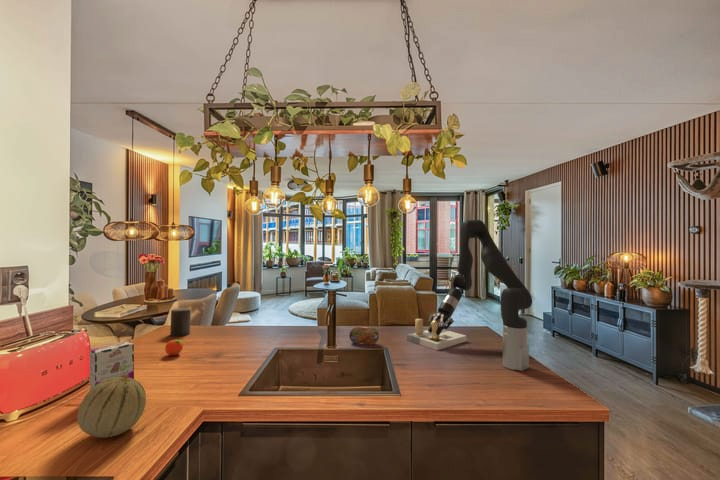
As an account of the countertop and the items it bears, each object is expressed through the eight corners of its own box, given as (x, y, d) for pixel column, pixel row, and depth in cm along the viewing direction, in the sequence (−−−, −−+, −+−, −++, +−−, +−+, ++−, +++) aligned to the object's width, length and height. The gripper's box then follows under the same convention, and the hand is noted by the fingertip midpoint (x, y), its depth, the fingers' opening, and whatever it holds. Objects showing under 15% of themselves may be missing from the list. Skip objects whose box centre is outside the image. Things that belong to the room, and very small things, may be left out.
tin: (349, 343, 167) (349, 327, 167) (350, 341, 171) (350, 325, 171) (378, 345, 165) (378, 328, 165) (379, 343, 168) (379, 327, 168)
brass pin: (441, 345, 165) (441, 321, 165) (436, 346, 163) (436, 322, 163) (434, 343, 168) (435, 319, 168) (429, 344, 166) (429, 321, 166)
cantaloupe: (63, 442, 84) (64, 384, 84) (123, 414, 98) (123, 364, 98) (101, 456, 79) (102, 394, 79) (158, 424, 92) (159, 371, 92)
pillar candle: (176, 337, 175) (177, 309, 175) (166, 334, 180) (167, 307, 180) (194, 333, 183) (194, 306, 183) (183, 330, 188) (184, 304, 188)
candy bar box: (127, 387, 115) (128, 340, 116) (134, 390, 113) (135, 343, 113) (88, 400, 106) (89, 349, 106) (94, 404, 103) (95, 352, 103)
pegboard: (466, 341, 173) (466, 320, 173) (436, 350, 158) (437, 327, 158) (436, 332, 189) (436, 313, 189) (406, 340, 174) (407, 319, 174)
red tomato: (188, 352, 151) (188, 337, 151) (178, 358, 144) (178, 342, 144) (171, 352, 152) (172, 336, 152) (161, 357, 145) (161, 341, 145)
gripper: (434, 299, 176) (418, 325, 168) (456, 303, 164) (441, 331, 157) (440, 308, 179) (425, 334, 171) (463, 312, 168) (448, 340, 160)
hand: (433, 332), depth 164 cm, fingers open, 4 cm apart
